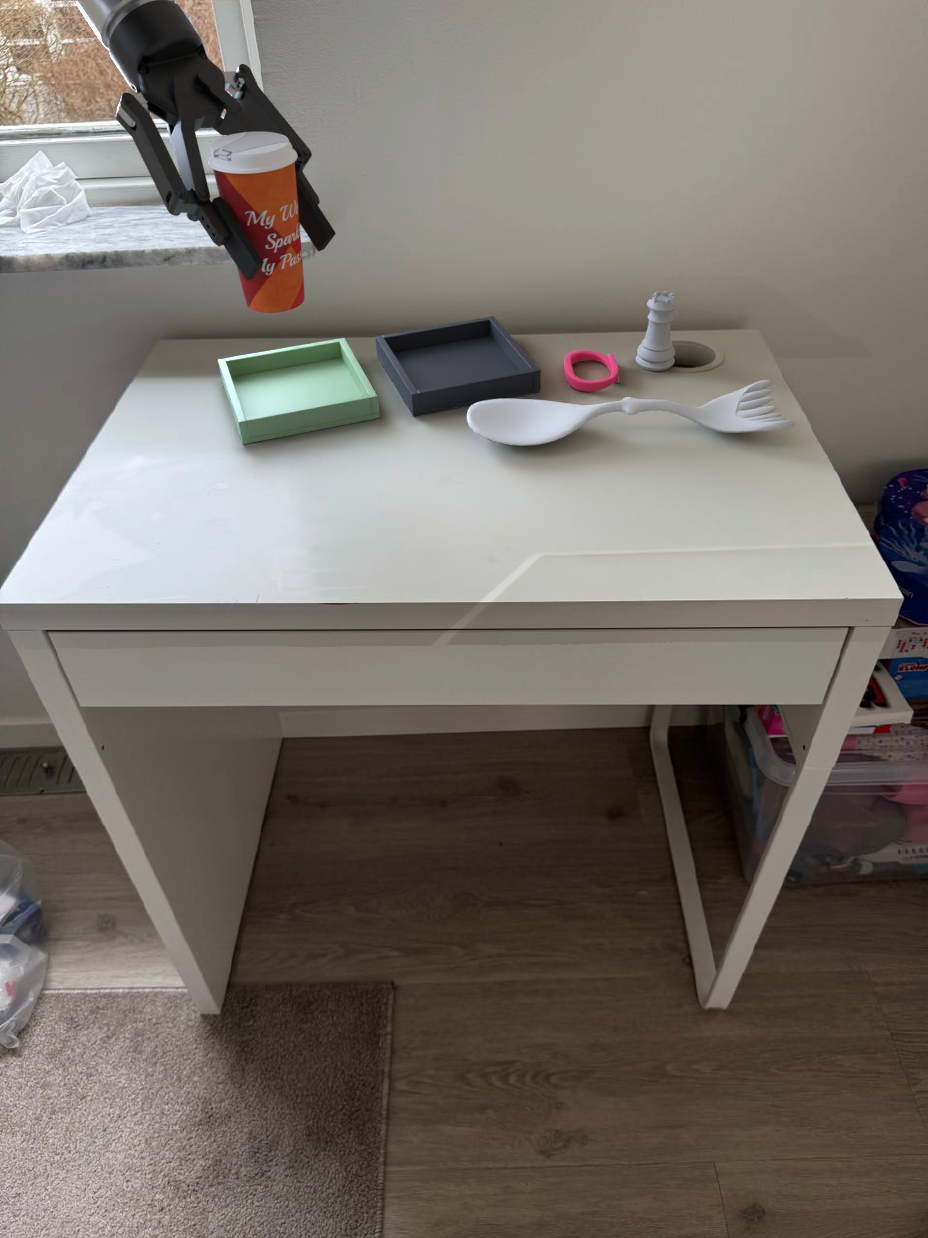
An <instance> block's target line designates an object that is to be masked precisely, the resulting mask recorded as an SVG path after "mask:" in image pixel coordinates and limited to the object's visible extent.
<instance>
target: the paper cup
mask: <svg viewBox="0 0 928 1238" xmlns="http://www.w3.org/2000/svg"><path fill="white" fill-rule="evenodd" d="M209 147H210V148H209V150H210V152H209V153H210V156H208V159H207V165H208V166H209V168H211V169H212V172H213V175H214V180H215V183H216V188H217V192H218V195H219V196H221V197H222V199H223V200H224V202H225V204H226V205H227V207H228V208H229V210H230V211H231V213H232V214H233V216H234V217H235V219H236V220H237V222H238V223H239V225H240V226H241V228H242V229H243V231H244V232H245V234H246V236H247V237H248V239H249V240H250V242H251V243H252V245H253V246H254V248H255V249H256V251H257V252H258V254H259V255H260V257H261V258H262V260H263V261H264V263H263V265H262V266H261V268H260V269H259V271H258V272H257V274H256V275H255V277H254V278H253V279H251V280H248V281H247V280H246V279H245V277H244V276H243V274H242V273H241V271H240V270H239V268H238V267H237V265H236V264H235V265H236V270H237V273H238V278H239V282H240V285H241V286H240V287H241V290H242V292H243V298H244V301H245V305H246V306H247V307H248V309H250V310H251V311H254V312H258V313H264V314H277V313H278V314H279V313H284V312H289V311H292V310H294V309H296V308H298V307H300V306H301V305H302V304H303V303H304V302H305V298H306V297H305V296H306V295H305V278H304V263H303V262H304V261H303V250H302V239H301V224H300V223H299V211H298V199H297V186H296V174H295V161H296V160H297V157H298V155H297V153H296V151H295V150H294V149H293V148H292V145H291V143H290V142H289V139H288V138H287V137H286V136H284V135H282V134H278V133H273V132H243V133H237V134H232V135H228V136H227V135H224V136H221V137H219V138H216V139H215V140H214V141H213V142H211V144H210V146H209ZM219 196H218V197H219Z"/></svg>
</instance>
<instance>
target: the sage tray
mask: <svg viewBox="0 0 928 1238" xmlns="http://www.w3.org/2000/svg"><path fill="white" fill-rule="evenodd" d="M217 363H218V368H219V372H220V377H221V381H222V384H223V387H224V391H225V393H226V396H227V397H226V398H227V399H228V403H229V407H230V409H231V412H232V415H233V418H234V422H235V424H236V427H237V429H238V434H239V437H240V440H241V443H242V445H247V444H252V443H257V442H262V441H268V440H271V439H279V438H283V437H288V436H294V435H299V434H304V433H308V432H309V433H310V432H314V431H319V430H320V431H321V430H324V429H329V428H336V427H340V426H346V425H350V424H355V423H360V422H366V421H370V420H377V419H380V418H381V417H380V415H381V414H380V405H379V396H378V395H377V392H376V391H375V389H374V388H373V385H372V384H371V382H370V380H369V378H368V377H367V375H366V373H365V371H364V369H363V368H362V366H361V364H360V362H359V361H358V359H357V357H356V355H355V353H354V352H353V350H352V349H351V347H350V345H349V343H348V341H347V340H346V338H345V337H341V338H335V339H329V340H324V341H323V340H322V341H318V342H311V343H305V344H300V345H299V344H298V345H293V346H289V347H281V348H276V349H271V350H264V351H259V352H254V353H248V354H242V355H236V356H235V355H234V356H230V357H224V358H218V359H217Z"/></svg>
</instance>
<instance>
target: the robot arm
mask: <svg viewBox="0 0 928 1238" xmlns="http://www.w3.org/2000/svg"><path fill="white" fill-rule="evenodd" d="M73 2H74V3H75V6H77V8H78V9H79V10H80V12H81V13H82V15H83V17H84V19H85V20H86V21H87V22H88V24H89V26H90V27H91V29H92V30H93V32H94V34H95V35H96V36H97V38H98V40H99V41H100V42H101V44H102V45H103V47H104V48H105V49H106V50H108V53H109V56H110V58H111V60H112V61H113V63H114V65H115V66H116V67H117V69H118V71H119V72H120V73H121V75H122V76H123V79H124V80H125V81H126V82H127V84H128V85H129V87H130V89H132V90H133V91H134V92H135V93H134V94H132V93H130V92H123V93H122V94H121V96H120V100H119V103H118V106H117V108H116V112H115V119H116V121H117V122H118V123H119V125H120V126H121V127H122V128H124V130H125V131H126V132H127V133H128V134H129V136H130V137H131V138H132V140H133V142H134V144H135V146H136V149H137V150H138V152H139V155H140V157H141V159H142V160H143V162H144V165H145V167H146V169H147V171H148V173H149V174H150V176H151V179H152V181H153V183H154V185H155V187H156V190H157V192H158V193H159V196H160V198H161V200H162V202H163V204H164V206H165V209H166V210H167V212H168V213H169V214H170V215H171V216H174V217H178V216H180V215H181V214H186V218H187V219H188V220H190V221H191V222H194V223H195V222H199V223H200V224H201V226H202V227H203V229H204V231H205V233H207V235H208V236H209V238H210V240H211V241H212V242H213V244H215V246H217V247H218V248H219V247H222V246H223V247H224V249H225V250H226V251H227V253H228V254H229V256H230V258H231V259H232V260H233V262H234V264H235V265H237V266H236V268H237V267H238V268H239V270H240V271H241V273H242V274H243V276H244V277H245V279H246V280H247V281H248V280H251V279H253V278H254V277H255V275H256V274H257V272H258V271H259V269H260V268H261V266H262V265H263V263H264V261H263V260H262V258H261V257H260V255H259V254H258V252H257V251H256V249H255V248H254V246H253V245H252V243H251V242H250V240H249V239H248V237H247V236H246V234H245V232H244V231H243V229H242V228H241V226H240V225H239V223H238V222H237V220H236V219H235V217H234V216H233V214H232V213H231V211H230V210H229V208H228V207H227V205H226V204H225V202H224V200H223V199H222V197H221V196H216V197H213V199H212V201H211V193H210V188H209V184H208V180H207V176H206V173H205V172H206V171H205V168H204V167H205V166H204V164H203V158H202V155H201V151H200V146H199V142H198V139H197V134H196V132H197V131H199V130H200V129H211V128H212V129H213V130H214V131H216V132H217V133H218V134H219V135H221V136H222V137H224V136H228V135H232V134H237V133H243V132H273V133H278V134H282V135H284V136H286V137H287V138H288V139H289V142H290V143H291V145H292V148H293V149H294V150H295V151H296V153H297V155H298V157H297V160H296V161H295V174H296V186H297V199H298V211H299V223H300V227H302V229H303V230H304V232H305V233H306V235H307V237H308V238H309V240H310V241H311V242H312V244H313V246H314V247H315V249H316V250H317V252H321V251H324V250H325V249H326V248H327V247H328V246H329V244H330V242H331V241H332V240H333V238H335V236H336V234H337V233H336V231H335V230H334V228H333V226H332V225H331V224H330V222H329V220H328V219H327V218H326V215H325V214H324V212H323V211H322V210H321V208H320V206H319V205H320V203H321V201H320V197H319V195H318V194H317V192H316V191H315V189H314V188H313V186H312V184H311V183H310V182H309V180H308V177H306V175H305V173H304V170H305V168H306V166H307V165H308V163H309V161H310V160H311V158H312V156H313V153H312V150H311V149H310V148H309V147H308V146H307V144H306V143H305V142H304V140H303V139H302V138H301V136H300V135H299V134H298V133H297V132H296V130H295V129H294V128H293V127H292V126H291V124H290V123H289V122H288V121H287V120H286V118H285V117H284V116H283V115H282V113H281V112H280V111H279V110H278V109H277V107H276V106H275V105H274V104H273V103H272V101H271V100H270V99H269V98H268V96H267V95H266V94H265V92H264V91H263V90H262V89H261V88H260V87H259V84H258V82H257V80H256V78H255V76H254V74H253V71H252V69H251V67H249V66H248V65H247V64H246V63H240V64H239V65H238V67H237V69H236V70H234V71H232V70H231V71H222V69H221V68H220V67H219V66H218V65H217V64H215V63H214V62H213V61H211V59H210V58H209V56H208V55H207V52H206V49H205V46H204V43H203V39H202V38H201V35H200V34H199V33H198V31H197V30H196V28H195V27H194V24H193V23H192V22H191V20H190V19H189V17H188V15H187V14H186V12H185V11H184V9H183V8H182V6H181V5H179V4H178V3H177V0H73ZM224 112H225V114H224ZM151 114H152V116H155V117H157V118H158V119H160V120H162V121H163V122H165V126H166V130H167V134H168V140H169V143H170V146H173V150H174V154H175V158H176V162H177V166H176V164H175V162H174V160H173V158H172V156H171V153H170V152H169V150H168V148H167V146H166V144H165V141H164V139H163V138H162V136H161V133H160V131H159V129H158V127H157V125H156V123H155V121H154V119H153V118H152V116H151ZM223 114H224V116H223ZM222 116H223V117H222ZM177 167H178V169H177Z"/></svg>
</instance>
